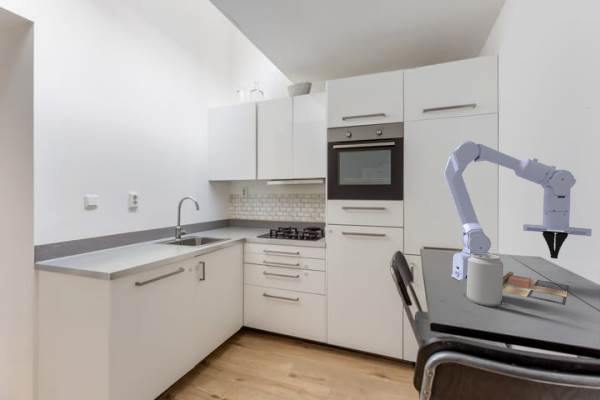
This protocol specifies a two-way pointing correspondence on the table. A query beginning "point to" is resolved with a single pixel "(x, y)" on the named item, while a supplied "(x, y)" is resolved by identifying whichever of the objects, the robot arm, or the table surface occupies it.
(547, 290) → the trap board
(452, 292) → the table surface
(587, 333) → the table surface
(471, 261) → the can
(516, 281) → the tile block
